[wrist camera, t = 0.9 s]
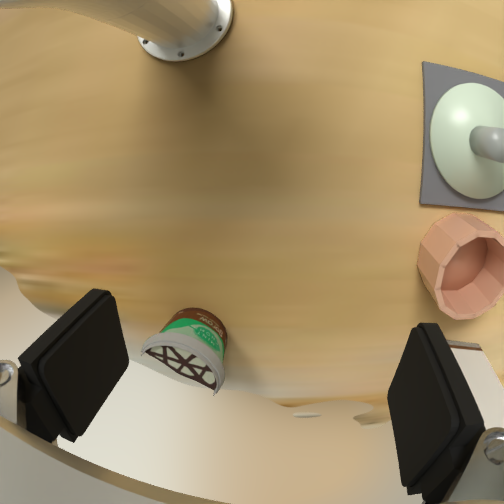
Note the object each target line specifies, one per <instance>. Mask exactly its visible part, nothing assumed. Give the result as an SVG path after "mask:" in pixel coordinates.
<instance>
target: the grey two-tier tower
mask: <svg viewBox="0 0 504 504" xmlns="http://www.w3.org/2000/svg"><path fill="white" fill-rule="evenodd" d="M447 342H448V344H449V346H450V348H451V350H452V352H453V354H454V356H455V358H456V360H457V362H458V364H459V366H460V368H461V370H462V372H463V374H464V377H465V379H466V381H467V383H468V385H469V387H470V389H471V392H472V394H473V396H474V398H475V401H476V403H477V405H478V408H479V410H480V412H481V415H482V417H483V420H484V422H485V423H484V426H485V428H486V430H487V429H490V428H493V427H501V428H504V388H503V386H502V385H501V383H500V381H499V379H498V377H497V375H496V373H495V372H494V370H493V368H492V366H491V364H490V363H489V361H488V359H487V357H486V356H485V354H484V352H483V351H482V349H481V347H480V346H479V344H475V343H466V342H458V341H450V340H447Z"/></svg>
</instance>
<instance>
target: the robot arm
mask: <svg viewBox="0 0 504 504" xmlns="http://www.w3.org/2000/svg"><path fill="white" fill-rule="evenodd" d="M37 7H43V8H55V9H61V10H66V11H70V12H74V13H77V14H81V15H84V16H87V17H90V18H92V19H95V20H98V21H101V22H103V23H106V24H109V25H111V26H114V27H117V28H119V29H122V30H124V31H127V32H129V33H131V34H134V35H136V36H137V37H138V40H139V42H140V44H141V46H142V47H143V48H144V49H145V50H146V51H147V52H148V53H149V54H151V55H152V56H154V57H157V58H159V59H162V60H166V61H175V62H178V61H187V60H190V59H194V58H196V57H199V56H201V55H203V54H205V53H206V52H208V51H209V50H211V49H212V48H213V47H215V46H216V45H217V44H218V43H219V42H220V41H221V40H222V38H223V37H224V36H225V34H226V33H227V31H228V29H229V27H230V24H231V21H232V16H233V7H232V2H231V0H0V9H12V8H37ZM220 29H222V31H220V32H219V30H220ZM148 41H149V42H148ZM147 43H148V44H147ZM182 54H184V56H183V57H182ZM18 359H19V361H20V364H21V367H19V368H17V366H16V364H15V363H14V362H12V361H9V360H0V504H229V503H224V502H218V501H213V500H208V499H204V498H199V497H195V496H191V495H186V494H182V493H178V492H174V491H171V490H167V489H164V488H160V487H157V486H154V485H151V484H147V483H144V482H141V481H138V480H135V479H132V478H130V477H127V476H124V475H121V474H119V473H116V472H113V471H111V470H108V469H105V468H103V467H101V466H98V465H96V464H93V463H91V462H89V461H87V460H84V459H82V458H80V457H78V456H75V455H73V454H71V453H69V452H67V451H65V450H63V449H61V448H59V447H58V445H57V436H58V435H59V434H60V436H61V437H63V438H65V439H67V440H69V441H71V442H73V443H74V442H75V440H76V439H77V437H78V436H82V435H83V434H84V432H85V431H86V429H87V428H88V426H89V425H90V423H91V422H92V420H93V419H94V417H95V415H96V414H97V412H98V411H99V409H100V408H101V406H102V405H103V403H104V402H105V400H106V399H107V397H108V395H109V394H110V393H111V391H112V390H113V388H114V387H115V385H116V384H117V382H118V381H119V379H120V378H121V376H122V375H123V373H124V372H125V371H126V369H127V367H128V364H129V357H128V353H127V349H126V345H125V341H124V337H123V333H122V328H121V324H120V319H119V315H118V310H117V305H116V300H115V298H114V297H113V296H112V295H111V293H110V292H109V291H106V290H101V289H92V290H90V291H89V292H88V293H87V294H86V295H85V296H84V297H82V298H81V299H80V300H79V301H78V302H77V303H76V304H75V305H73V306H72V307H71V308H70V309H69V310H68V311H67V312H66V313H65V314H64V315H62V316H61V317H60V318H59V319H58V320H57V321H56V322H55V323H54V324H53V325H52V326H51V327H49V328H48V329H47V330H46V331H45V332H44V333H43V334H42V335H41V336H40V337H39V338H38V339H37V340H36V341H35V342H34V343H33V344H32V345H31V346H30V347H28V349H26V351H24V352H23V353H22V354H21V355H20V356H19V357H18ZM387 399H388V405H389V410H390V415H391V420H392V426H393V431H394V437H395V443H396V449H397V455H398V461H399V469H400V476H401V483H402V485H403V486H404V487H407V493H408V495H413V494H420V493H422V498H423V500H424V501H423V502H422V504H504V428H501V427H493V428H490V429H487V430H486V428H485V426H484V423H485V422H484V420H483V417H482V415H481V412H480V410H479V408H478V405H477V403H476V401H475V398H474V396H473V394H472V392H471V389H470V387H469V385H468V383H467V381H466V379H465V377H464V374H463V372H462V370H461V368H460V366H459V364H458V362H457V360H456V358H455V356H454V354H453V352H452V350H451V348H450V346H449V344H448V342H447V340H446V339H445V337H444V335H443V333H442V331H441V329H440V327H439V325H438V324H436V323H419V324H418V325H417V327H414V328H412V330H411V332H410V335H409V338H408V341H407V344H406V347H405V349H404V352H403V355H402V357H401V360H400V363H399V365H398V368H397V370H396V373H395V376H394V378H393V380H392V383H391V385H390V388H389V390H388V396H387Z"/></svg>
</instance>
